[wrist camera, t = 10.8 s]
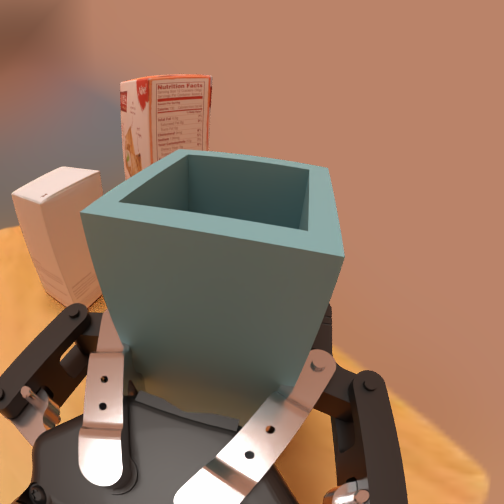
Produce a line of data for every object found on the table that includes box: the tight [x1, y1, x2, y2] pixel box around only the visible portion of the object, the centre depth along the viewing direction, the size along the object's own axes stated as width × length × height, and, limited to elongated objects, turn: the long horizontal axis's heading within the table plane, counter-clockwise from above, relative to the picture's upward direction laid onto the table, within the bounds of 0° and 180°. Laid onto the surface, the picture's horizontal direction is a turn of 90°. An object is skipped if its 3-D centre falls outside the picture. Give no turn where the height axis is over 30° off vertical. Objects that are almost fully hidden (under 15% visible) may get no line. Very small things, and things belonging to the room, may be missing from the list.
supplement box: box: [12, 166, 103, 308], centre depth 23 cm, size 7×7×13 cm
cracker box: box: [120, 74, 212, 180], centre depth 28 cm, size 14×6×21 cm, turn 35°
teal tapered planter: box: [80, 149, 345, 427], centre depth 11 cm, size 6×6×14 cm
